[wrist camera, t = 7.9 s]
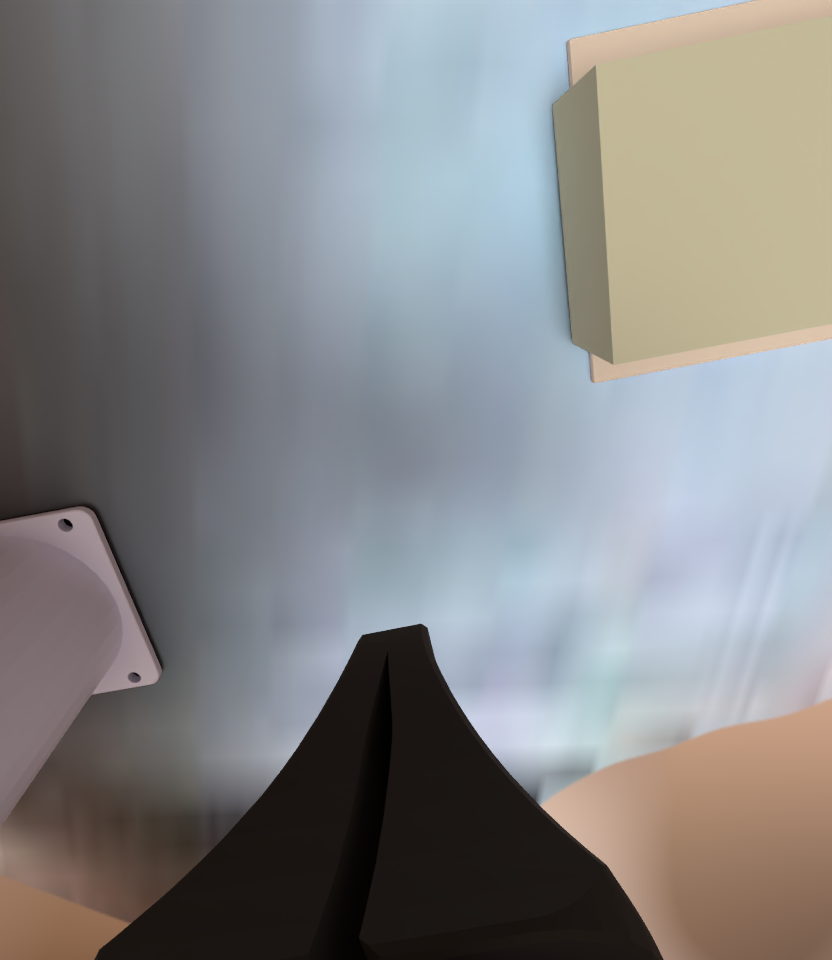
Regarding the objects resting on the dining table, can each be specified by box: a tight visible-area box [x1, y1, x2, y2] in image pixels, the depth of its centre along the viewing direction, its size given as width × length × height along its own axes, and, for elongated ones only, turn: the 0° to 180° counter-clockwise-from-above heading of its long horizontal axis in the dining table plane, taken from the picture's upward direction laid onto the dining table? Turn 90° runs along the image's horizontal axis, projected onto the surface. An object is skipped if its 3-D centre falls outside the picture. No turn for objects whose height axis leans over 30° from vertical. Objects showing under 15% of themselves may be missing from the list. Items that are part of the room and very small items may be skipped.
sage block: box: [552, 16, 832, 365], centre depth 16 cm, size 4×7×9 cm
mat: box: [567, 0, 832, 383], centre depth 18 cm, size 12×10×1 cm
